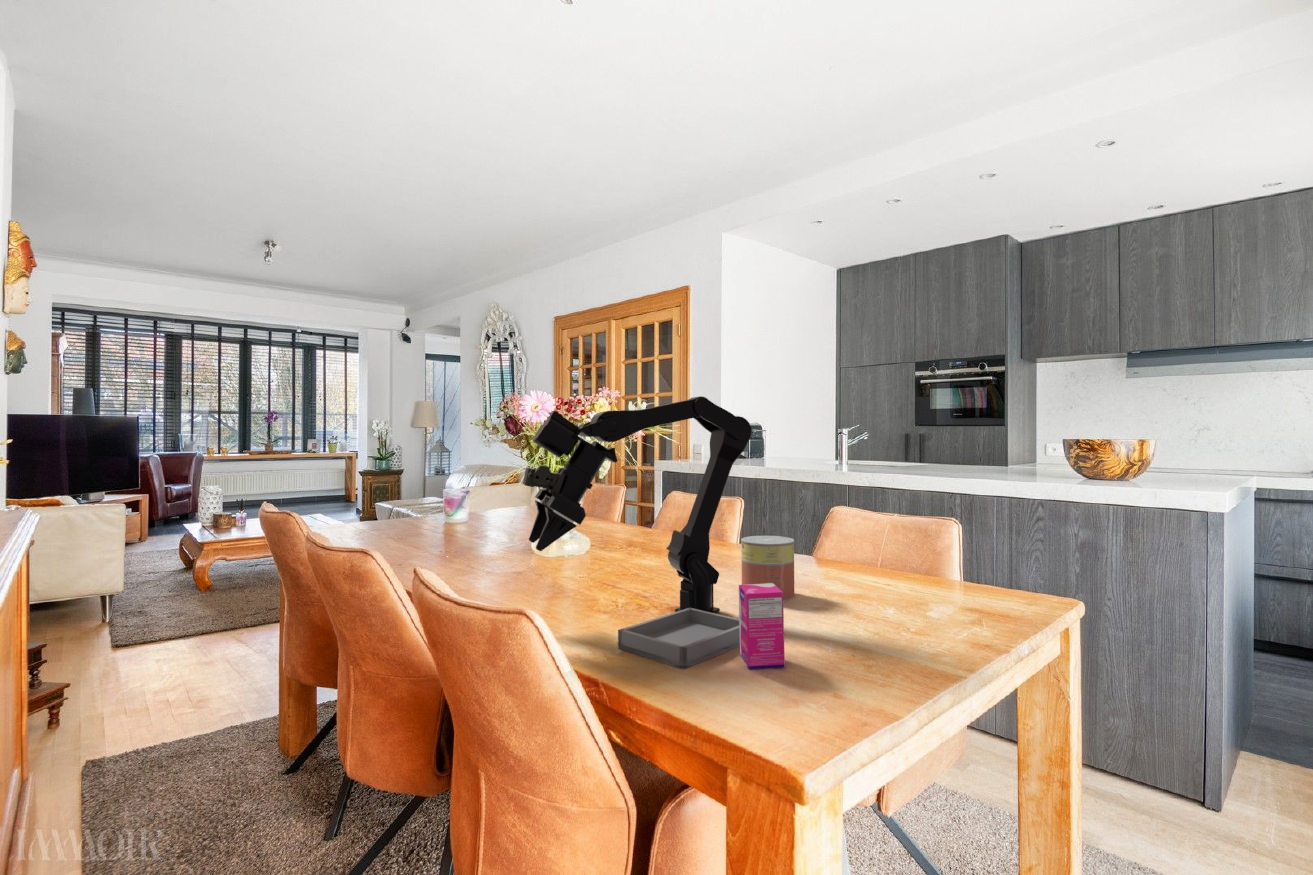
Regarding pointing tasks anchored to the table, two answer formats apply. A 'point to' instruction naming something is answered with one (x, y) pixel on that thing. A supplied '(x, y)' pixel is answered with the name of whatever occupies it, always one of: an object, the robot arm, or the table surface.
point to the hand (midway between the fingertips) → (534, 545)
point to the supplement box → (761, 626)
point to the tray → (682, 637)
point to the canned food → (769, 562)
